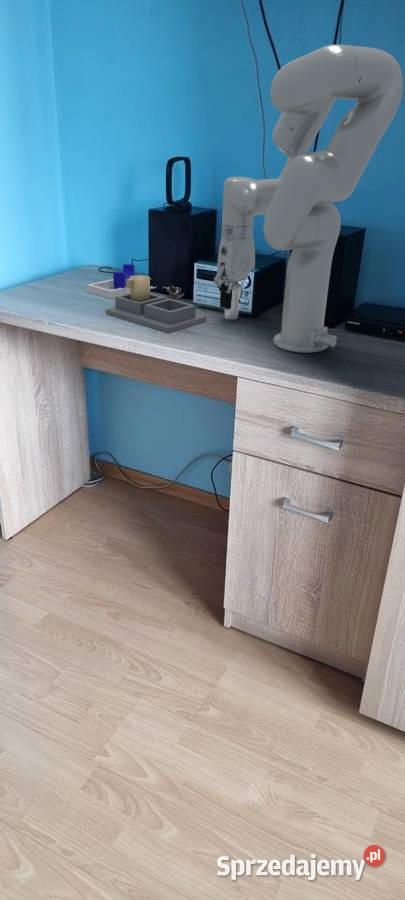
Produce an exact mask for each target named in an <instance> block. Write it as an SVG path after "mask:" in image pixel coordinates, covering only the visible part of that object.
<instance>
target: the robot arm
mask: <svg viewBox="0 0 405 900" xmlns="http://www.w3.org/2000/svg"><path fill="white" fill-rule="evenodd" d="M403 88H404V79H403V74H402V68H401V66H400V64H399V63H398V61H397V60H396V58H395V57H394V56H393V55H392V54H391V53H388V52H387V51H385V50H383V49H379V48H375V47H367V46H358V45H350V44H349V45H347V44H328V45H325V46H322V47H320V48H318V49H316V50H314V51H311V52H309V53H307V54H305V55H303V56H300V57H298V58H296V59H294V60H291V61H289V62H288V63H286V64H285V65H283V66H282V67H281V68H280V69H279V70H278V71H277V72H276V73H275V75H274V77H273V79H272V82H271V87H270V95H269V96H270V100H271V101H270V102H271V104H272V105H273V107H274V108H275V109H276V110H277V111H279V112H281V114H280V116H279V118H278V120H277V122H276V124H275V126H274V127H273V130H272V133H271V138H272V141H273V143H274V145H275V147H276V148H277V149H278V150H279V151H280V152H282V153H283V154H284V155H286V156H287V160H286V162H285V163H286V164H285V166H284V167H283V169H282V171H281V173H280V175H278V178H263V179H253V178H252V177H246V176H230V177H227V178H226V179H225V180H224V184H223V194H222V195H223V200H222V220H221V221H222V222H221V223H222V225H221V238H220V243H219V247H218V255H217V265H216V266H217V267H216V270H217V271H216V274H215V276H214V279H213V282H214V284H215V285H216V286H217V288H218V291H219V293H220V295H219V297H220V298H219V307H220V308H223V309H225V308H226V309H231V301H232V293H230V291H231V287H232V283H233V282H237V281H241V280H245V279H247V278H248V276H249V275H248V274H249V272H250V271H251V270H252V269H256V268H255V267H256V247H255V239H254V236H253V233H254V221H255V220H254V218H255V216H261V215H262V216H263V215H265V217H264V221H263V236H264V239H265V241H266V243H267V244H268V246H269V247H271V248H273V249H274V250H277V251H291V253H290V256H289V258H288V260H287V264H286V265H287V266H286V274H285V286H284V296H283V297H284V298H283V305H282V306H283V307H282V318H281V319H282V320H281V329H280V332H279V333H277V334H276V335H274V336H273V344H274V345H275V346H276V347H277V348H280V349H282V350H284V351H285V350H286V351H289V352H295V353H318V352H322V351H325V350H326V349H327V348H328V347H331V348H334V347H335V346H336V345H337V339H338V338H337V335H333V334H329V333H328V326H325V319H326V318H325V316H326V310H327V309H326V307H327V299H328V293H329V292H328V291H329V284H330V277H331V269H332V262H333V256H334V252H335V248H336V245H337V241H338V238H339V235H340V232H341V228H342V227H341V225H342V223H341V222H342V221H341V219H342V218H341V214H340V212H339V210H338V208H337V207H336V206H335V205H334V204H333V203H337V202H342V201H344V200H347V199H348V198H349V197H350V196H351V195H352V194H353V192H354V190H355V188H356V186H357V185H358V183H359V181H360V179H361V177H362V176H363V174H364V171H365V170H366V168H367V167H368V163H370V160H371V158H372V157H373V155H374V153H375V151H376V148H377V147H378V144H379V143H380V141H381V139H382V138H383V136H384V134H385V133H386V131H387V130H388V128H389V127H390V125H391V123H392V121H393V120H394V117H395V116H396V114H397V111H398V109H399V106H400V105H401V100H402V98H403ZM337 100H356V104H355V105H354V106H353V108H351V109H350V110H349V111H348V112H347V113H346V114H345V116H344V117H343V118H342V119H341V120H340V122H339V123H338V124H337V126H336V128H335V131H334V133H333V135H332V137H331V139H330V141H329V143H328V145H327V146H326V148H324V149H323V150H322V151H309V149H310V148H311V146H312V144H313V143H314V141H315V139H316V137H317V134H318V133H319V131H320V130H321V128H322V126H323V124H324V122H325V121H326V119H327V117H328V115H329V114H330V112H331V110H332V108H333V106H334V105H335V103H336V101H337ZM226 283H228V284H227V286H226V285H225V284H226Z"/></svg>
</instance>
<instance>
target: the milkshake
mask: <svg viewBox="0 0 405 900" xmlns="http://www.w3.org/2000/svg"><path fill="white" fill-rule="evenodd" d="M243 282H244V281H243ZM243 282H242V285H243ZM227 284H228V282H225V285H226V286H227ZM242 285H240V284H239V283H237V282H233V283H232V287H231V291H230V293H232V301H231V309H226V308H224V318H225V319H226V320H233V321H234V320H237V319H239V311H240V310H239V309H240V304H241V303H240V297H241V290H242Z"/></svg>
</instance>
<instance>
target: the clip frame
mask: <svg viewBox="0 0 405 900" xmlns="http://www.w3.org/2000/svg"><path fill="white" fill-rule="evenodd" d="M110 288H113V289H110ZM151 289H152V290H153V289H157V286H156V287H153V286H150V290H151ZM86 293H91V294H93V295H97V296H101V297H104V298H107V299H115V297H116V296H120V295H125V294H129V293H130V289H129V288H126V287H125V288H118V289H114V278H111V279H108V280H104V281H98V282H93V283H89V284H86Z"/></svg>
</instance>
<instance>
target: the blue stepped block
mask: <svg viewBox="0 0 405 900" xmlns="http://www.w3.org/2000/svg"><path fill="white" fill-rule="evenodd" d="M135 270H136V269H135V264H134V263H133V264H132V263H124V264H123V266H122V271H114V272H113V278H112V279H114V287H113V290H114V289H118V288H125V287H126V280H127V279H130V276H134V275H135V273H136V272H135Z"/></svg>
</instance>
